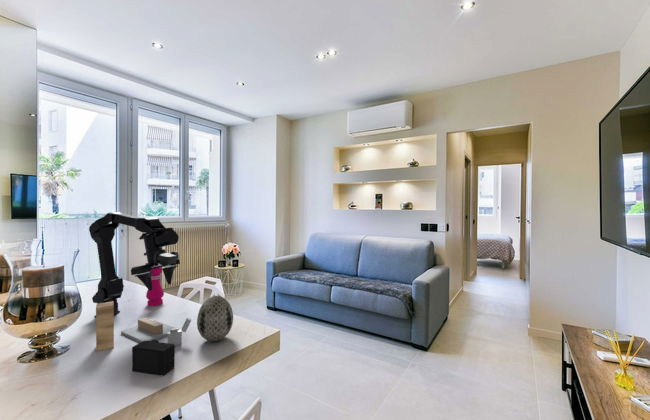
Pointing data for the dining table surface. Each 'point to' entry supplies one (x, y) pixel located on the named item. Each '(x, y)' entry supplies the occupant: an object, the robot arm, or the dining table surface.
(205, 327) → the decorative egg
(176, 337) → the lighter
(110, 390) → the dining table surface
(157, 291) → the pepper mill
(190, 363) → the dining table surface
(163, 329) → the ridge stand
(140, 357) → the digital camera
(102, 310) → the oak block
